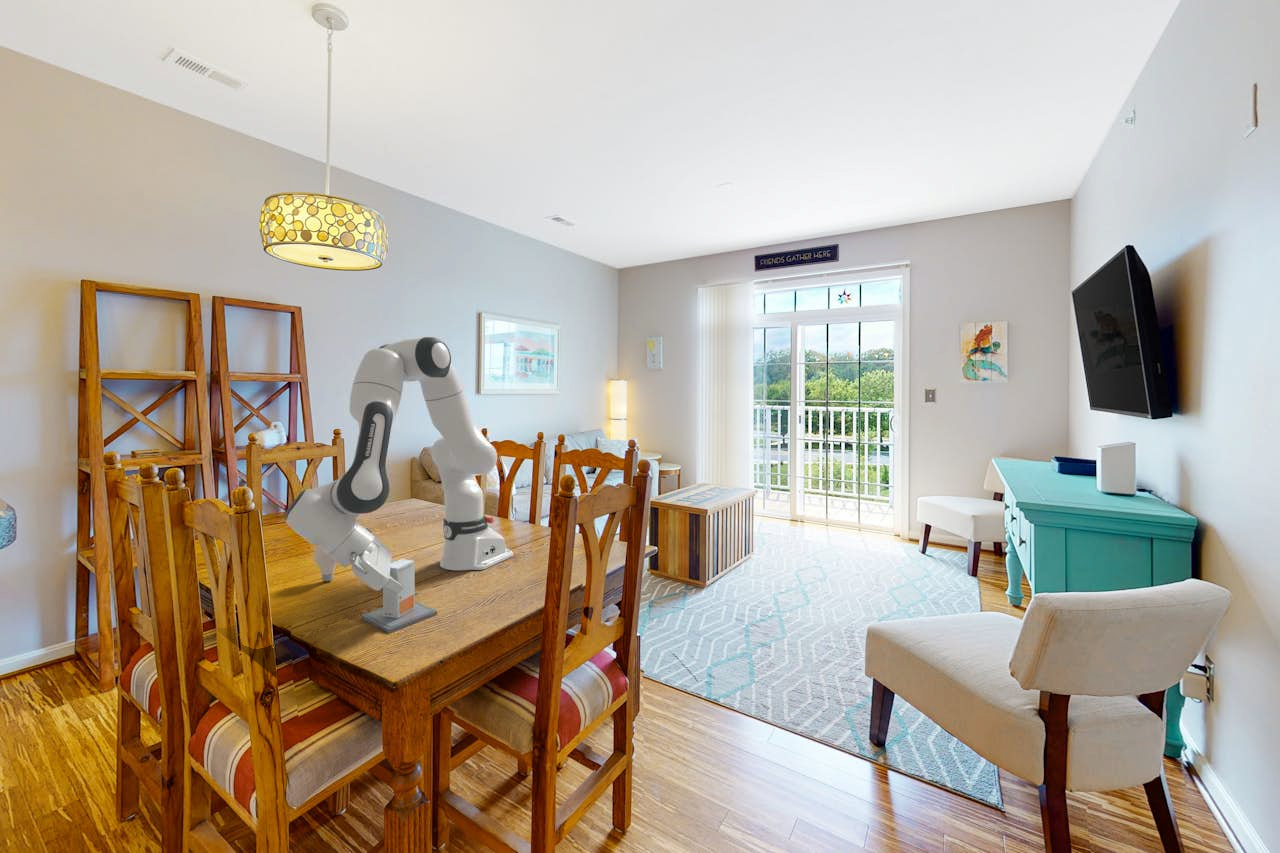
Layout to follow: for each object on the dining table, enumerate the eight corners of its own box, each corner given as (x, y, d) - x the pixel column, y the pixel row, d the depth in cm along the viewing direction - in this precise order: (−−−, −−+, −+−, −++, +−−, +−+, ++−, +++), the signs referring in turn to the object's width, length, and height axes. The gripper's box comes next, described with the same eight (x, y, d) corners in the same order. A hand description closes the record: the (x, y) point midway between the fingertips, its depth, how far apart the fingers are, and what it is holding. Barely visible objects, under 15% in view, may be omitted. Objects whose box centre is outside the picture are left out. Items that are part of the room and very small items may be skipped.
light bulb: (321, 577, 147) (320, 538, 147) (346, 576, 148) (345, 538, 147) (308, 586, 141) (307, 546, 140) (334, 585, 141) (333, 546, 141)
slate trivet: (409, 601, 132) (409, 598, 132) (437, 614, 125) (437, 610, 125) (361, 618, 122) (361, 614, 122) (388, 633, 115) (388, 629, 115)
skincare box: (398, 619, 120) (397, 568, 119) (382, 616, 121) (381, 566, 120) (416, 608, 126) (415, 560, 125) (401, 606, 127) (400, 558, 126)
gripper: (360, 550, 110) (412, 588, 115) (367, 525, 129) (411, 559, 133) (336, 573, 108) (389, 611, 113) (347, 545, 127) (392, 578, 132)
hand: (401, 583), depth 123 cm, fingers closed on skincare box, 7 cm apart
